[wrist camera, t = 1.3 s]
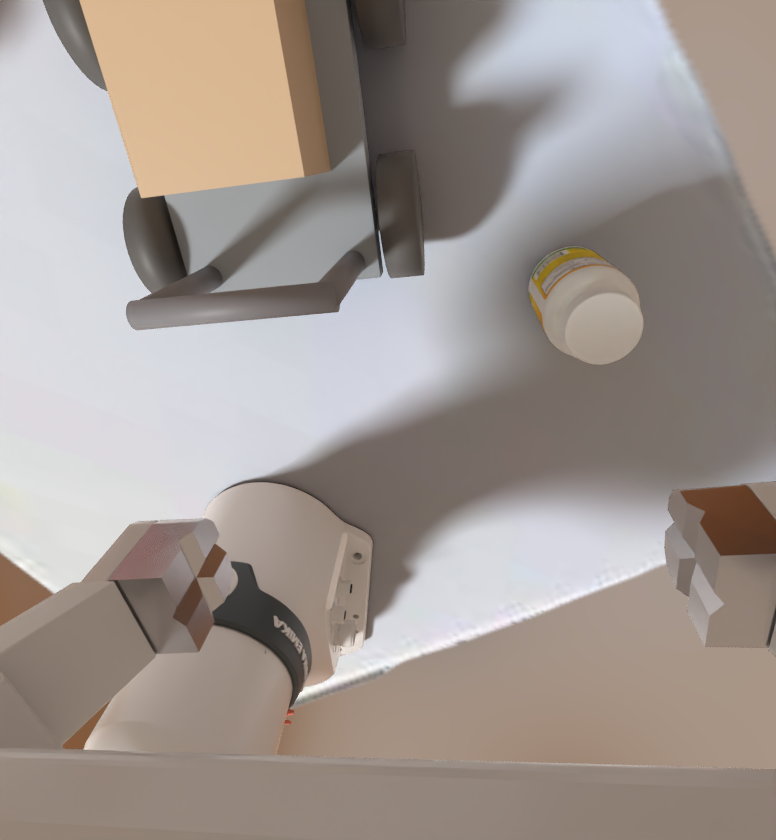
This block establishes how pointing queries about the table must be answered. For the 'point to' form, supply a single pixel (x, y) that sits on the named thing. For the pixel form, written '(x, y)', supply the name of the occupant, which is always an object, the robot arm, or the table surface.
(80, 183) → the table surface
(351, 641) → the robot arm
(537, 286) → the supplement bottle
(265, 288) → the trolley
